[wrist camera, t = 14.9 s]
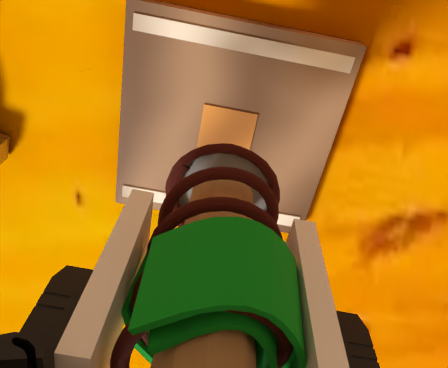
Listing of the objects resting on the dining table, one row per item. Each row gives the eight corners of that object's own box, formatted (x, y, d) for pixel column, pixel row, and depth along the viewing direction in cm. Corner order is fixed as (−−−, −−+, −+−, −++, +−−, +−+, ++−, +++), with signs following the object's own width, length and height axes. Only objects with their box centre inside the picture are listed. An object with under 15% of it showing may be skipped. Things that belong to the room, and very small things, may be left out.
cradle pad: (120, 193, 26) (115, 203, 25) (131, -5, 20) (126, -2, 19) (298, 225, 27) (300, 236, 26) (361, 42, 21) (367, 47, 20)
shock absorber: (123, 183, 18) (-183, 765, 5) (220, 84, 16) (87, 739, 3) (225, 261, 20) (184, 820, 7) (326, 184, 18) (537, 833, 5)
